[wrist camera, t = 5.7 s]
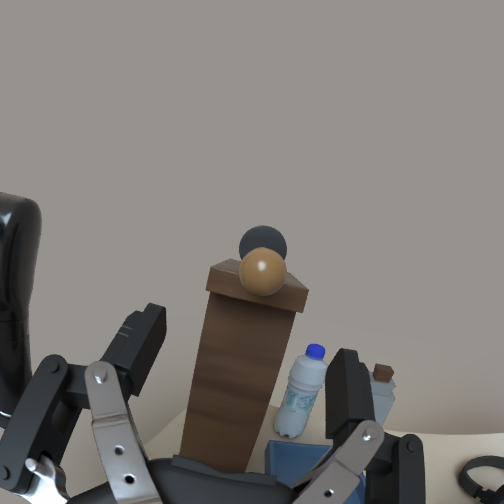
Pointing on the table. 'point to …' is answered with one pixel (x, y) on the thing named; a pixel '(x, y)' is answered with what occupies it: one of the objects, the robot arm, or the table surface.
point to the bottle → (301, 392)
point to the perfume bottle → (382, 391)
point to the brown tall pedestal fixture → (236, 367)
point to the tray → (301, 464)
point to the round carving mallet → (262, 260)
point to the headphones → (493, 502)
